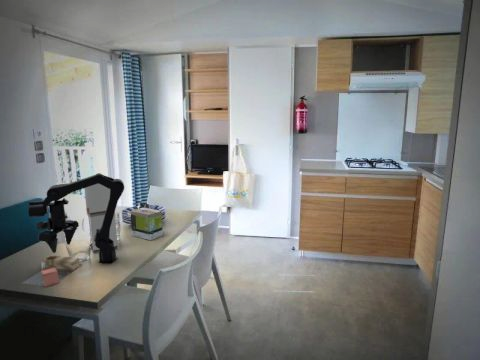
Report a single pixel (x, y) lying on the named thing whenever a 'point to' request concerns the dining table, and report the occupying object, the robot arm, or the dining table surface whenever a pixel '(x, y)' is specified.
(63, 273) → the base plate
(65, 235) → the robot arm
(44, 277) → the keeper
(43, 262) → the pintle
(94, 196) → the tall white box
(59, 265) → the link
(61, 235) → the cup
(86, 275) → the dining table surface
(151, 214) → the tea box
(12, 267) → the dining table surface
